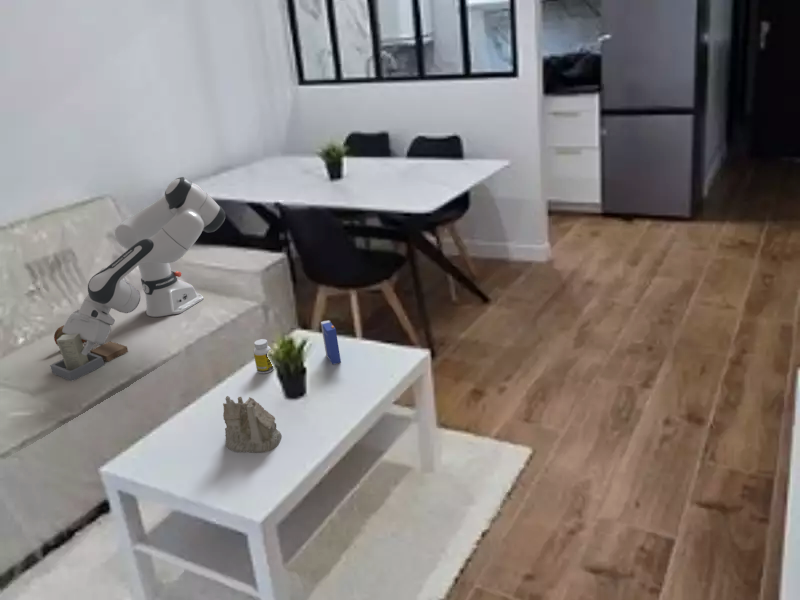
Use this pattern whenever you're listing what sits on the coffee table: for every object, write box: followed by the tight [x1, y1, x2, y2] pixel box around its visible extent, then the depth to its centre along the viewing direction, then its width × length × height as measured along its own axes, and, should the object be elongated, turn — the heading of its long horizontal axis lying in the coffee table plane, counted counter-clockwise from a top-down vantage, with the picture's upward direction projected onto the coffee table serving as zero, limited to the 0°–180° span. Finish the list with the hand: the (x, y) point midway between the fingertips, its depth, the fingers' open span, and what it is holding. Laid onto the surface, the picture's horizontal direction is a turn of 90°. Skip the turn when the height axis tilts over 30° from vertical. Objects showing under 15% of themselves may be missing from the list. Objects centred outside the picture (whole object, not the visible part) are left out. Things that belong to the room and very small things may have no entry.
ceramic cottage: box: [222, 395, 283, 454], centre depth 196 cm, size 16×16×15 cm
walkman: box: [320, 319, 342, 365], centre depth 232 cm, size 8×3×12 cm, turn 20°
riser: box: [89, 340, 129, 362], centre depth 256 cm, size 8×10×2 cm
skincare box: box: [57, 333, 89, 371], centre depth 246 cm, size 6×4×12 cm
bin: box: [49, 351, 105, 382], centre depth 247 cm, size 12×12×3 cm
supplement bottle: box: [253, 338, 274, 374], centre depth 231 cm, size 5×5×10 cm
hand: (75, 351), depth 246 cm, fingers open, 8 cm apart
